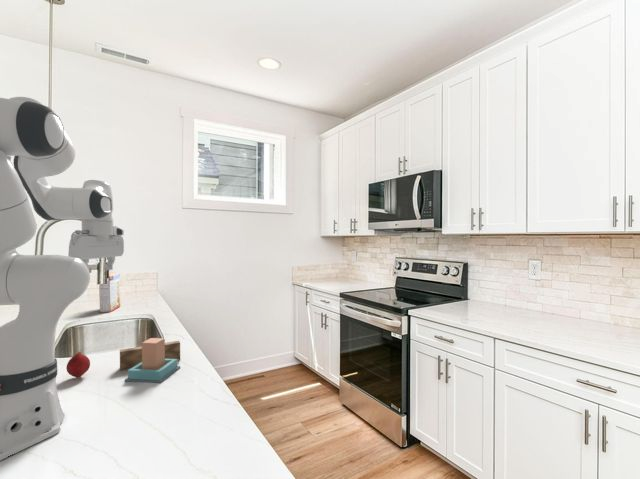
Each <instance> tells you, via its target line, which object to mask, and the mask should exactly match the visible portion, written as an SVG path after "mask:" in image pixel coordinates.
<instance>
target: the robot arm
mask: <svg viewBox="0 0 640 479" xmlns="http://www.w3.org/2000/svg"><path fill="white" fill-rule="evenodd" d="M64 128H65V127H64V124H63V122H62V120H61V118H60V117H59V115H58V114H57V113H56V112H55V111H53V109H51V108H50V107H48V106H46V105H44V104H42V103H41V102H40V101H38V100H36V99H35V98H30V97H27V96H15V97H10V98H3V97H0V306H11V305H12V306H14V305H18V306H19V309H18V310H19V311H18V314H17V317H15V319H12V320H10V321H9V322H6V323H5V324H3V325H1V326H0V461H3V460H4V459H6V458H9V457H11V456H13V455H15V454H17V453H19V452H21V451H23V450H25V449H27V448H29V447H31V446H33V445H36V444H38V443H39V442H42V441H44V440H46V439H48V438H50V437H52V436H55V435H57V434H59V433H60V432H61V423H62V422H63V421H64V419H65V414H64V411H63V409H62V407H61V406H62V405H61V402H60V399H59V394H58V388H57V380H56V379H57V376H58V359H57V358H56V357H55V354H56V352H55V348H56V346H55V345H56V334H57V333H56V332H57V327H58V323H59V321H60V318H61V317H62V315H63V313H64V312H65V310H66V309H67V308H68V307H69V305H71V304H72V303H73V302H74V301H76V300H77V299H79V298H80V297H81V296H82V295H83V294H85V292H86V291H87V289H88V287H89V285H90V281H91V274H92V267H90V265H89V263H90V260H96V259H103V258H104V259H105V258H106V260H107V262H106V264H105V265H104V270H105V271H112V270H114V269H113V266H114V263H115V261H116V257H122V256H123V254H124V252H125V249H124V248H125V240H124V237H123V236H124V235H125V234H124V233H125V231H124V229H123V228H121V227H118V226H117V225H116V224H115V225H114V218H113V210H114V199H113V192H112V187H111V185H110V184H109V183H107V182H105V181H103V180H102V181H101V180H96V179H88V180H85V181H84V182H83V185H82V187H59V186H53V185H50V184H48V181H47V179H46V178H47V177H54V176H57V175H60V174H62V173H64V172H66V171H67V170H68V169H69V168H70V167H71V166H72V165H73V163H74V161H75V157H76V151H75V150H76V149H75V147H74V144H73V142H72V140H71V138H70V137H69V135H68V134H67V132H66V130H65V129H64ZM12 156H13V163H12V161H11V158H12ZM29 198H30V201H31V203H32V207H31V203H30V201H29ZM32 208H33V210H34V212H35V213H36V214H37V215H38V216H39V217H40V218H42V219H44V220H46V221H59V220H81V230H80V229H75V230H74V231H73V232H72V233H71V235H70V240H69V243H68V244H69V245H68V256H67V255H61V254H20V253H18V252H17V250H16V249H18V248H20V247H22V246H23V245H25V244H27V243H28V242H29V241H31V240H32V239H33V238H34V236H35V235H36V233H37V228H38V227H37V226H38V225H37V222H36V217H35V216H34V212H33V210H32ZM12 454H13V455H12ZM10 455H11V456H10ZM8 456H9V457H8Z"/></svg>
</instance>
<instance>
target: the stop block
mask: <svg viewBox="0 0 640 479" xmlns="http://www.w3.org/2000/svg"><path fill="white" fill-rule="evenodd" d="M165 340H166V339H165V338H164V337H163V338H160V337H151V338H148V339H146V340H144V341H143V342H141V346H142V369H149V370H159V369H160V368H162V367H163V366H164V365H165V343H166V342H165Z"/></svg>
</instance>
